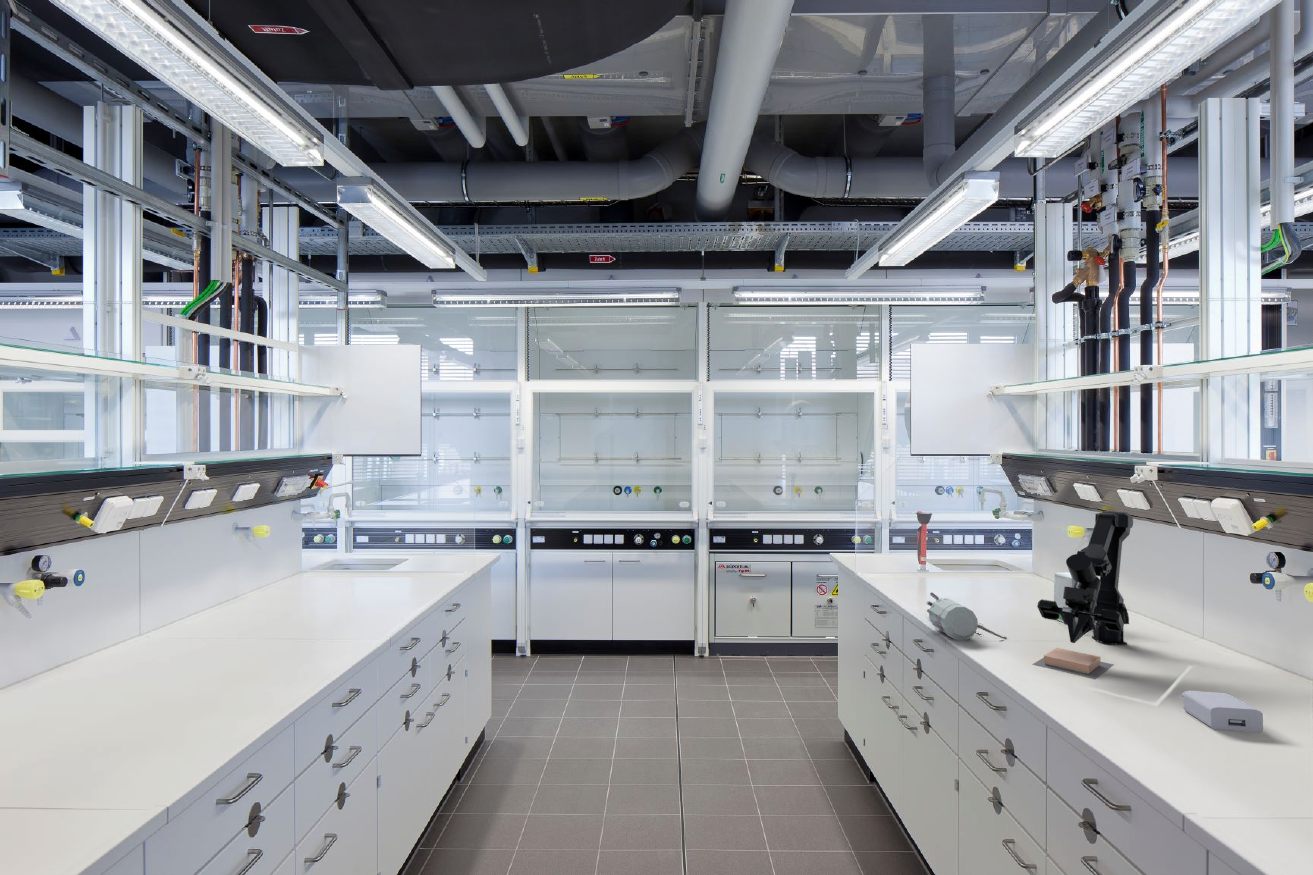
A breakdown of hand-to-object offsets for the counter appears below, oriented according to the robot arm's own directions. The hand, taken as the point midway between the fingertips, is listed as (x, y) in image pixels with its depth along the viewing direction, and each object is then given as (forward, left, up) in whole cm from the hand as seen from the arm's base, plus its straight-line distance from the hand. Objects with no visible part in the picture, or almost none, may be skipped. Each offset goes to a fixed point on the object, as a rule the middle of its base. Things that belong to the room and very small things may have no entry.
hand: (1072, 641), depth 165 cm
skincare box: (-24, -44, -7) cm, 51 cm away
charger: (-13, +29, -7) cm, 32 cm away
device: (+21, -35, -7) cm, 42 cm away
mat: (0, 0, -7) cm, 7 cm away
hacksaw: (+8, -30, -7) cm, 32 cm away
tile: (-3, -3, -5) cm, 7 cm away
